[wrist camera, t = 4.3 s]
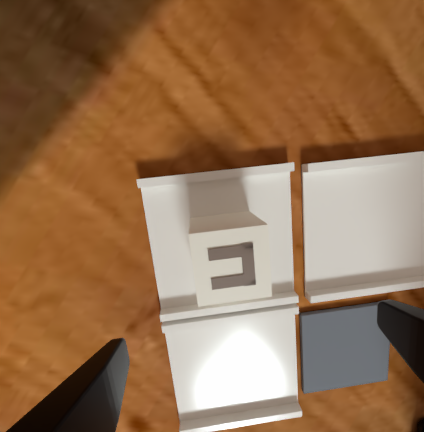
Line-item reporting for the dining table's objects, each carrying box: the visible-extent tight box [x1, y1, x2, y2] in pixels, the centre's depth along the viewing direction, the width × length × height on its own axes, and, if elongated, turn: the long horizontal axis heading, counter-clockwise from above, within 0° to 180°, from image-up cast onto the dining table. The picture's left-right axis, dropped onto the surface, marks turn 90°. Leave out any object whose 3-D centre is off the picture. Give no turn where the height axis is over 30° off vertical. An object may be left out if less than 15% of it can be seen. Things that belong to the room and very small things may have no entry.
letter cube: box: [189, 211, 272, 307], centre depth 15 cm, size 4×4×5 cm
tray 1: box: [136, 162, 299, 322], centre depth 17 cm, size 11×11×1 cm
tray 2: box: [162, 303, 302, 432], centre depth 19 cm, size 11×11×1 cm
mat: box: [300, 302, 390, 394], centre depth 20 cm, size 8×8×1 cm
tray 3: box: [301, 151, 424, 303], centre depth 18 cm, size 11×11×1 cm
